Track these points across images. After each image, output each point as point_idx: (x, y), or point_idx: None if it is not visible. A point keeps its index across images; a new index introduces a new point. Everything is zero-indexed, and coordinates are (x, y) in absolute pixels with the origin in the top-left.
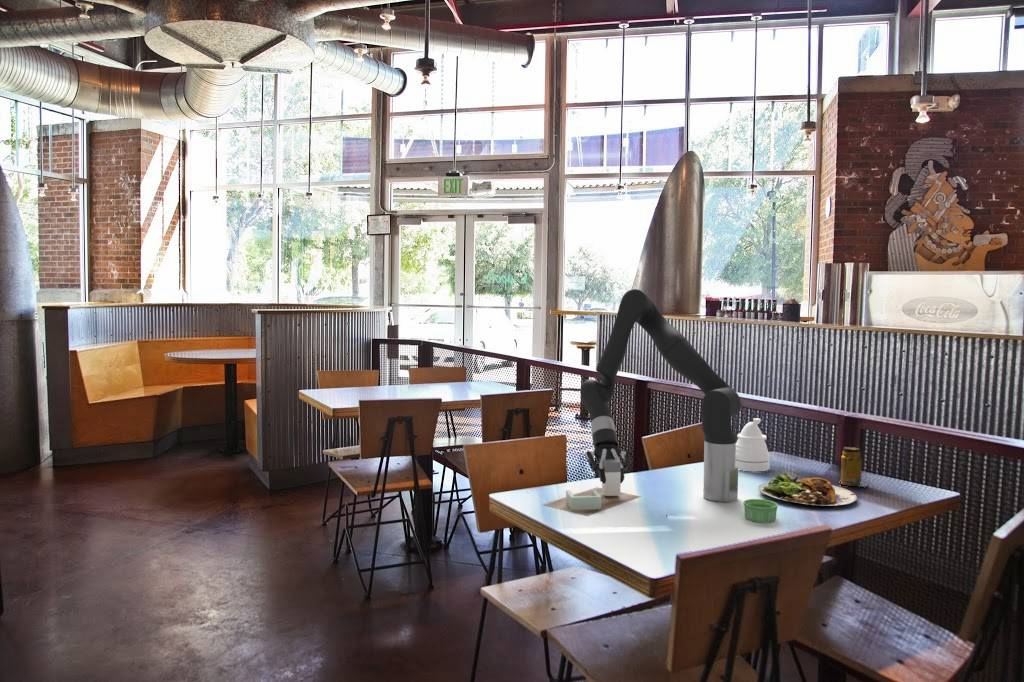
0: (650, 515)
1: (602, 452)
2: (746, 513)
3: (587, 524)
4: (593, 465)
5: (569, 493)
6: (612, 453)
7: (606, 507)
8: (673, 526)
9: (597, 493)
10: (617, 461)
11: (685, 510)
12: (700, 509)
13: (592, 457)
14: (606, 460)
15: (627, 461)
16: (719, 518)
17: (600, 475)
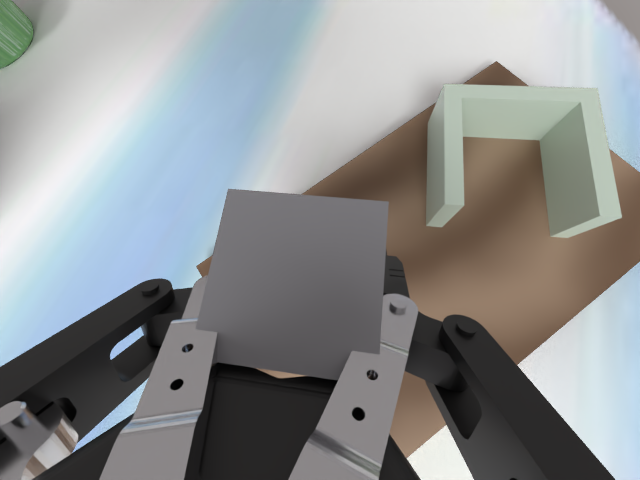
0: (263, 97)
1: (374, 474)
2: (15, 25)
3: (496, 41)
4: (484, 334)
5: (604, 153)
6: (197, 423)
7: (400, 140)
8: (250, 9)
9: (448, 136)
10: (244, 226)
11: (128, 129)
12: (77, 132)
13: (535, 444)
14: (347, 299)
15: (105, 315)
16: (91, 53)
17: (403, 274)
